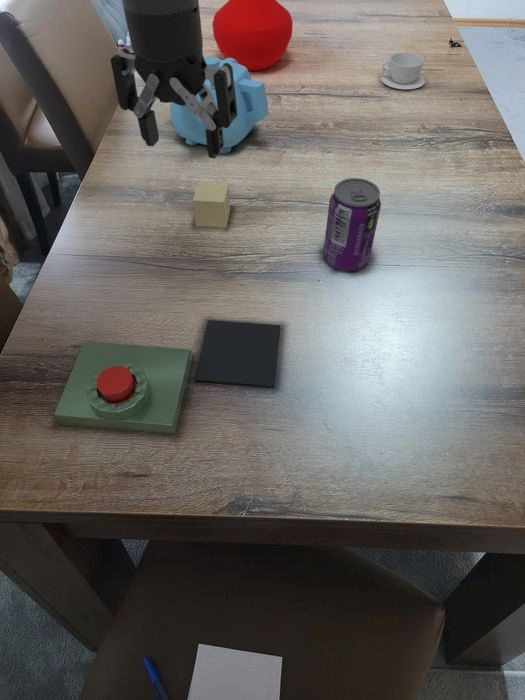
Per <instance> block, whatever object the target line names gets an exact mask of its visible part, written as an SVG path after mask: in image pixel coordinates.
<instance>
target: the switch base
mask: <svg viewBox="0 0 525 700" xmlns="http://www.w3.org/2000/svg"><path fill="white" fill-rule="evenodd" d="M74 362H75V363H74V364H73V367H72V369H71V371H70V374H69V377H68V378H67V380H66V384H65V386H64V388H63V391H62V393H61V396H60V399H59V400H58V404H57V406H56V408H55V411H54V413H53V416H54V418H55V419H56V421H57V422H58V424H59V425H66V426H77V427H86V428H87V427H88V428H99V429H110V430H120V431H121V430H123V431H134V432H145V433H156V434H157V433H158V434H167V435H176V431H177V427H178V423H179V419H180V414H181V411H182V406H183V402H184V397H185V393H186V389H187V384H188V380H189V375H190V371H191V367H192V363H193V355H192V351H191V349H190V348H189V349H188V348H178V347H163V346H153V345H151V346H149V345H139V344H138V345H137V344H125V343H124V344H123V343H112V342H111V343H110V342H97V341H85V340H84V341H83V343H82V345H81V348H80V349H79V352H78V355H77V357H76V359H75V361H74ZM111 366H123V367H125V368H127V369H128V370H129V371H130V372H131V374H132V377H133V379H134V382H135V389H134V391H133V393H132V394H131V396H130V397H128V398H127V399H125V400H123V401H121V402H109V401H107V400H105V399H104V398H103V397H102V396H101V394H100V392H99V390H98V388H97V383H96V382H97V378H98V376H99V374H100V373H101V372H102V371H103V370H105V369H106V368H109V367H111Z"/></svg>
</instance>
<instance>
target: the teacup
mask: <svg viewBox="0 0 525 700" xmlns="http://www.w3.org/2000/svg"><path fill="white" fill-rule="evenodd" d="M424 63H425V59H424V57H423V56H421V55H419V54H417V53H414V52H407V51H401V52H396V53H393V54H392V55H390V57H389V60H386V61H384V62H383V63H382V67H381V70H382V72H383V73H382V74H381V75H380V81H381V82H382V83H383V84H384V85H386V86H387V87H390V88H393V89H397V90H415V89H418V88H421V87H422V86H424V85H425V83H426V80H425V77H424V76H423V75H422V74H421V71H422V68H423V67H424V66H423V65H424ZM385 65H387V66H388V68H389V69H388V70H387V69H386V68H385Z"/></svg>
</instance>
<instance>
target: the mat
mask: <svg viewBox="0 0 525 700" xmlns="http://www.w3.org/2000/svg"><path fill="white" fill-rule="evenodd" d="M280 333H281V325H280V324H272V323H271V324H270V323H269V324H268V323H256V322H255V323H254V322H243V321H229V320H228V321H227V320H213V319H208V320H207V323H206V328H205V332H204V335H203V340H202V345H201V350H200V354H199V359H198V364H197V368H196V372H195V377H194V382H195V383H203V384H217V385H228V386H241V387H242V386H243V387H253V388H265V389H274V388H275V384H276V383H275V381H276V374H277V373H276V372H277V363H278V354H279V353H278V352H279V343H280Z"/></svg>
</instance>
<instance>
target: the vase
mask: <svg viewBox="0 0 525 700" xmlns="http://www.w3.org/2000/svg"><path fill="white" fill-rule="evenodd" d="M212 19H213V20H212V34H213V38H214V41H215V43H216V45H217V48H218V49H219V50H218V51H219V52H220V53H221V55H223V57H224V59H226V58H233V59H235V60H236V61H237V62H238V64H240V65H243V66H245V67H246V68H247V70H248V72H258V71H264V70H267V69H269V68H271V67H273V66H274V65H275V64H276V63H278V62H279V60H280V59H281V58H282V57H283V55H284V54H285V53H286V51H287V49H288V46H289V45H290V40H291V39H292V36H293V24H294V23H293V18H292V15H291V13H290V11H289V10H288V9H287V8H285V7H284V6H283V4H281V3H280V2H278V0H228V1H227V2H225V3H224V4H223V5H222V6H221V7H220V8H219V9H218V10H217V11H216V12H215V14H214V16H213V18H212Z"/></svg>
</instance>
